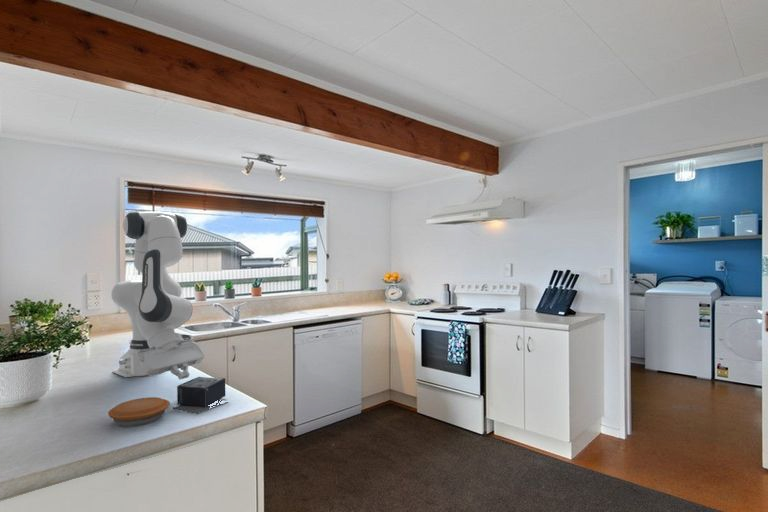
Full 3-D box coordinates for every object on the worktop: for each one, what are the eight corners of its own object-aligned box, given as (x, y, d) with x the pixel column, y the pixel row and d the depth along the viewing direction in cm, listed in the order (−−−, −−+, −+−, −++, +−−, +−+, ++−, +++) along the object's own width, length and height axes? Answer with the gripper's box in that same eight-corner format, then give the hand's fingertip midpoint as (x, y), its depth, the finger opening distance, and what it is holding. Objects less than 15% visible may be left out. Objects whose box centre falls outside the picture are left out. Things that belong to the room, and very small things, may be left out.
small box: (176, 406, 129) (205, 408, 126) (176, 385, 129) (205, 387, 126) (199, 395, 139) (226, 396, 137) (198, 376, 139) (225, 377, 137)
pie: (100, 421, 118) (100, 403, 118) (158, 407, 129) (158, 391, 129) (116, 435, 107) (117, 416, 107) (178, 418, 119) (178, 401, 119)
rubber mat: (172, 408, 127) (172, 407, 127) (205, 397, 138) (205, 396, 138) (196, 414, 122) (196, 413, 122) (228, 402, 133) (228, 401, 133)
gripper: (139, 344, 128) (159, 379, 123) (195, 334, 146) (215, 364, 142) (130, 357, 130) (149, 392, 125) (187, 346, 148) (206, 376, 143)
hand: (184, 377), depth 134 cm, fingers closed
